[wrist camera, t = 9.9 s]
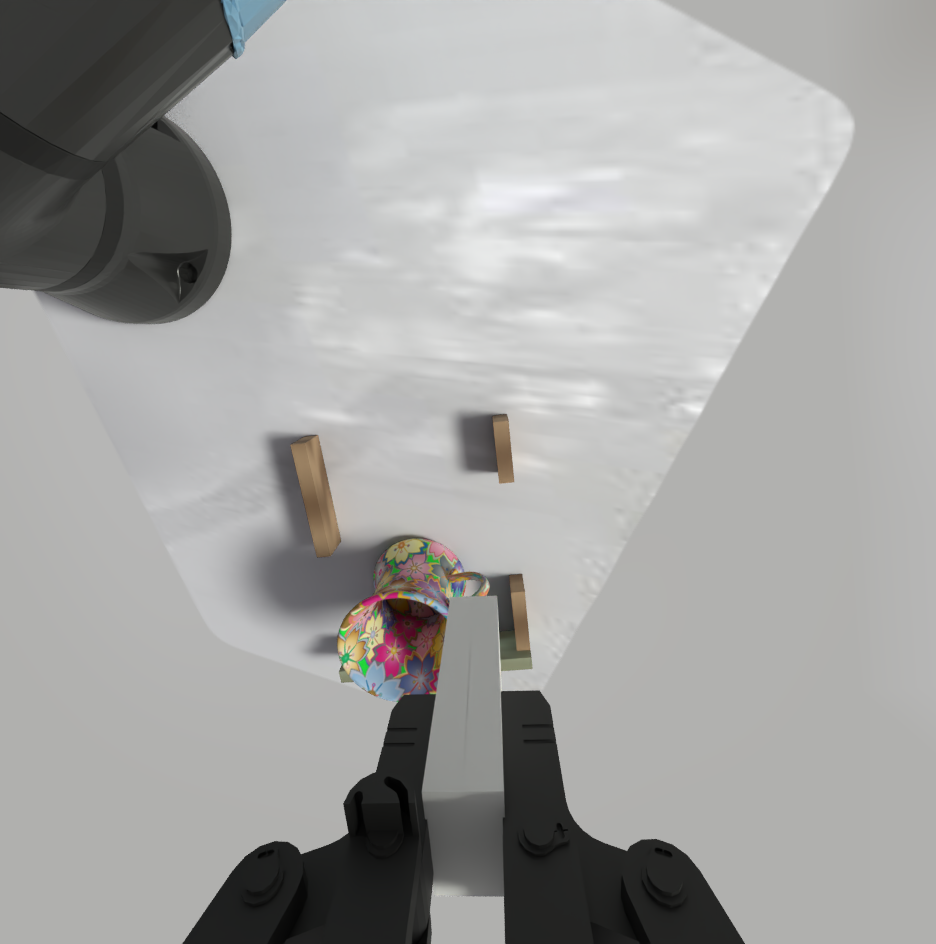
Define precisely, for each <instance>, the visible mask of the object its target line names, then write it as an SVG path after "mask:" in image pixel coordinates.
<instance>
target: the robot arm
mask: <svg viewBox="0 0 936 944" xmlns="http://www.w3.org/2000/svg"><path fill="white" fill-rule="evenodd" d="M285 1H286V0H0V288H10V289H22V290H35V291H42V292H44V293H47V294H49V295H51V296H53V297H56V298H58V299H60V300H62V301H64V302H67V303H69V304H71V305H73V306H76V307H78V308H80V309H82V310H85V311H87V312H89V313H91V314H94V315H96V316H99V317H102V318H105V319H108V320H113V321H117V322H123V323H134V324H161V323H168V322H172V321H176V320H179V319H181V318H184V317H186V316H188V315H190V314H192V313H193V312H195V311H196V310H198V309H199V308H200V307H201V306H203V305H204V304H205V303H206V302H207V301H208V300H209V299H210V297H211V296H212V295H213V294H214V292H215V291H216V289H217V288H218V286H219V284H220V282H221V280H222V278H223V276H224V274H225V271H226V268H227V264H228V261H229V256H230V249H231V220H230V213H229V209H228V204H227V200H226V197H225V194H224V191H223V188H222V185H221V183H220V181H219V178H218V176H217V174H216V172H215V170H214V169H213V167H212V165H211V163H210V162H209V160H208V159H207V157H206V156H205V154H204V153H203V152H202V150H201V149H200V148H199V146H198V145H197V144H196V143H195V142H194V141H193V140H192V138H191V137H190V136H189V135H188V134H187V133H185V132H184V131H183V130H182V129H181V128H180V127H179V126H177V125H176V124H175V123H174V122H172V121H171V120H169V119H168V118H166V117H165V116H164V115H165V114H166V113H167V112H168V111H169V110H170V109H172V108H173V107H174V106H175V105H176V104H177V103H178V102H180V101H181V100H182V99H183V98H184V97H185V96H187V95H188V94H189V93H190V92H191V91H192V90H193V89H195V88H196V87H197V86H198V85H199V84H200V83H201V82H203V81H204V80H205V79H206V78H207V77H208V76H209V75H211V74H212V73H213V72H214V71H215V70H216V69H217V68H219V67H220V66H221V65H222V64H223V63H224V62H226V61H227V60H228V59H229V58H230V57H231V56H233V57H234V58H235V59H237V58H238V57H239V56H241V55H242V53H243V51H244V43H245V42H246V41H247V40H248V39H249V38H250V37H251V36H252V35H253V34H254V33H255V32H256V31H257V30H258V29H259V28H260V27H261V26H262V25H263V24H264V23H265V22H266V21H267V20H268V18H269V17H270V16H271V15H272V14H274V13H275V12H276V11H277V10H278V9H279V8H280V7H281V6H282V5H283V3H284V2H285ZM343 804H344V810H345V815H346V821H347V826H348V832H349V833H348V834H346V835H345V836H344V837H342V838H341V839H340V840H338V841H335V842H333V843H331V844H329V845H326V846H324V847H321V848H318V849H315V850H312V851H309V852H307V853H304V854H300V852H299V850H298V848H297V847H295V846H294V845H292V844H290V843H289V842H278V841H274V842H272V843H269V844H266V845H262V846H260V847H258V848H257V849H255V850H254V851H253V852H251V853H250V854H248V855H247V856H245V857H244V859H243V860H242V861H241V862H240V863H239V864H238V865H237V866H236V868H235V869H234V870H233V871H232V873H231V874H230V875H229V877H228V878H227V880H226V881H225V883H224V884H223V886H222V887H221V888H220V890H219V891H218V893H217V894H216V896H215V897H214V899H213V900H212V902H211V903H210V905H209V906H208V907H207V909H206V910H205V912H204V913H203V915H202V916H201V918H200V919H199V921H198V922H197V923H196V925H195V926H194V928H193V929H192V931H191V932H190V933H189V935H188V936H187V938H186V939H185V941H184V942H183V944H431V935H432V932H431V918H430V904H431V894H432V885H433V890H434V896H504V913H505V944H745V943H744V942H743V940H742V938H741V937H740V935H739V934H738V932H737V930H736V928H735V927H734V925H733V924H732V922H731V920H730V919H729V917H728V916H727V914H726V912H725V911H724V909H723V907H722V906H721V904H720V903H719V901H718V899H717V898H716V896H715V895H714V893H713V891H712V890H711V888H710V886H709V885H708V883H707V881H706V880H705V878H704V877H703V875H702V873H701V872H700V870H699V869H698V868H697V867H696V866H695V864H694V863H693V862H692V860H691V859H690V858H689V857H688V856H687V855H686V854H685V853H683V852H682V851H681V850H679V849H678V848H676V847H675V846H674V845H672V844H669V843H666V842H663V841H660V840H657V839H651V840H650V839H648V840H640V841H639V842H637V843H635V844H633V845H631V846H630V847H629V849H628V851H625V850H622V849H620V848H617V847H614V846H611V845H608V844H605V843H603V842H601V841H599V840H596V839H594V838H592V837H591V836H590V835H588V834H587V833H586V832H584V831H583V830H582V829H581V828H580V827H579V825H577V823H576V822H575V821H574V819H573V817H572V816H571V814H570V812H569V810H568V806H567V803H566V798H565V792H564V787H563V781H562V774H561V768H560V762H559V756H558V750H557V744H556V738H555V733H554V728H553V720H552V714H551V708H550V705H549V704H548V702H547V701H546V699H545V698H544V696H543V695H542V694H541V692H540V691H502V686H501V661H500V642H499V622H498V603H497V596H470V597H450V603H449V610H448V616H447V623H446V630H445V637H444V644H443V650H442V657H441V664H440V671H439V678H438V684H437V691H436V694H409V695H403V696H402V698H401V699H400V700H399V702H398V703H397V704H396V706H395V707H394V708H393V710H392V712H391V716H390V720H389V724H388V728H387V732H386V735H385V739H384V746H383V747H382V751H381V755H380V758H379V762H378V767H377V770H376V772H375V773H372V774H370V775H369V776H367V777H365V778H363V779H361V780H360V781H359V782H358V783H357V784H356V785H355V786H354V787H353V788H352V789H351V790H350V792H349V794H348V795H347V798H346V800H345V801H344V803H343Z"/></svg>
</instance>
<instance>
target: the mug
mask: <svg viewBox="0 0 936 944" xmlns="http://www.w3.org/2000/svg"><path fill="white" fill-rule="evenodd" d="M373 580H374V587H375V593H374V594H373V595H372V596H371V597H369V598H367V599H365V600H363V601H362V602H360V603H359V604H357V605H356V606H355V607H354V608H353V609H352V610H351V611H350V612H349V613H348V614H347V615H346V617H345V618H344V620H343V622H342V624H341V626H340V629H339V633H338V639H337V648H338V655H339V659H340V661H341V664H342V666H343V668H344V670H345V671H346V673H347V674H348V675H349V677H350V678H351V679H352V680H353V681H354V682H355V683H356V684H357V685H358V686H359V687H361V688H362V689H363V690H365V691H367V692H368V693H370V694H372V695H374V696H376V697H379V698H382V699H385V700H389V701H394V702H399V700H400V699H401V698H402V696H403V695H409V694H436V691H437V684H438V678H439V671H440V664H441V657H442V650H443V644H444V637H445V630H446V623H447V616H448V610H449V603H450V597H463V595H464V592H465V587H466V580H478V581H481V582H482V585H481V587H480V589H479V590H478V591H477V592H476V593H475V594H473V595H472V596H486V595H487V593H488V591H489V588H490V585H489V582H488V580H487V579H486V577H485V576H483V575H482V574H480V573H477V572H464V569H463V567H462V565H461V563H460V561H459V559H458V558H457V557H456V555H455V554H454V553H453V552H452V551H450V550H449V549H448V548H447V547H445V546H443V545H442V544H440V543H437V542H435V541H432V540H427V539H408V540H404V541H401V542H398V543H396V544H394V545H392V546H391V547H389V548H388V549H387V550H386V551H385V552H384V553H383V554H382V555H381V556H380V558H379V560H378V561H377V563H376V566H375V569H374V579H373Z"/></svg>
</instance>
